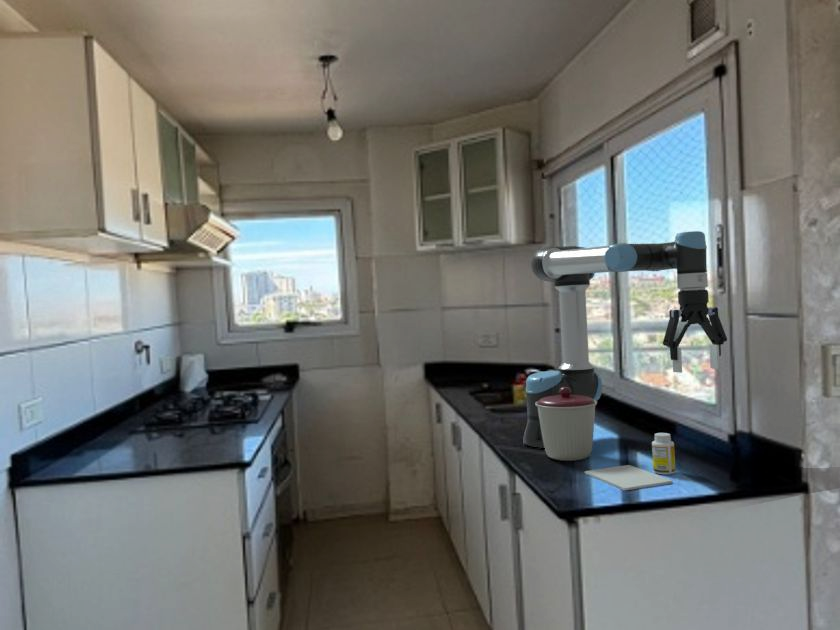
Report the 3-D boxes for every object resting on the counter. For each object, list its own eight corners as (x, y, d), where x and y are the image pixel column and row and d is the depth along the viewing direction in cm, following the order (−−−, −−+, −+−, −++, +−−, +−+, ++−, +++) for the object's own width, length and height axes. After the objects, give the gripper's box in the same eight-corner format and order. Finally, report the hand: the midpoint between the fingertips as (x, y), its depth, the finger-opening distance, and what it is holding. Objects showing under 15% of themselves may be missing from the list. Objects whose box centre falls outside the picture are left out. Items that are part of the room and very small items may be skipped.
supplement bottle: (669, 469, 174) (667, 431, 174) (679, 474, 169) (677, 435, 169) (649, 470, 174) (647, 432, 174) (659, 476, 168) (657, 436, 168)
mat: (584, 473, 175) (584, 471, 175) (629, 467, 179) (629, 464, 179) (624, 490, 157) (624, 488, 157) (672, 483, 161) (672, 480, 161)
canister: (526, 455, 199) (523, 386, 198) (576, 447, 205) (573, 381, 205) (559, 467, 182) (555, 393, 181) (612, 459, 188) (609, 387, 188)
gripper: (664, 290, 167) (668, 375, 167) (739, 287, 174) (743, 367, 174) (646, 292, 174) (650, 372, 174) (719, 288, 181) (722, 365, 181)
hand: (696, 370), depth 174 cm, fingers open, 11 cm apart
